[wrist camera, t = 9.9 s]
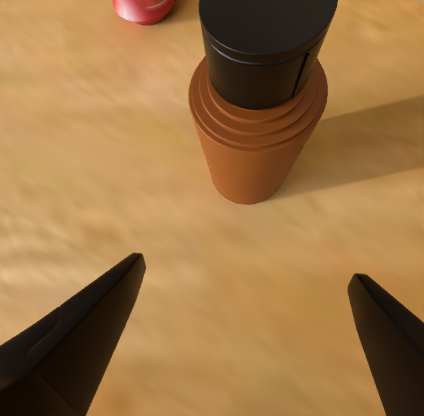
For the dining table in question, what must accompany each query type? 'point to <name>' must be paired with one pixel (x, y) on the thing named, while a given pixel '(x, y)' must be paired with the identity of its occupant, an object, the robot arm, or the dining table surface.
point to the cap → (262, 47)
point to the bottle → (253, 135)
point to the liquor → (143, 10)
